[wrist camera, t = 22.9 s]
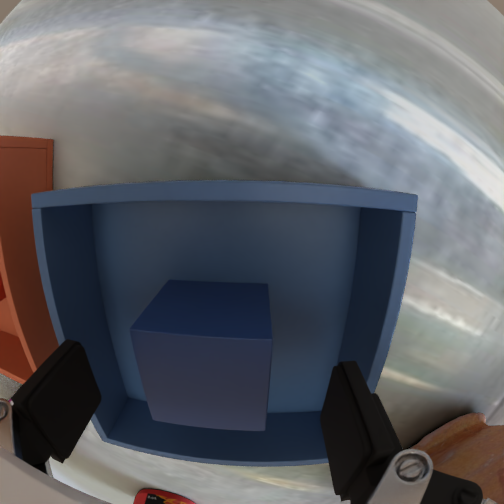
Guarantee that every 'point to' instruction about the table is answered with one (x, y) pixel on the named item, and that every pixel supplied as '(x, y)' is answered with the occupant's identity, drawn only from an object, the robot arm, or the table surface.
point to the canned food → (159, 497)
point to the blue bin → (235, 271)
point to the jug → (469, 452)
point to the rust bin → (23, 257)
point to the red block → (2, 289)
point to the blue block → (206, 354)
